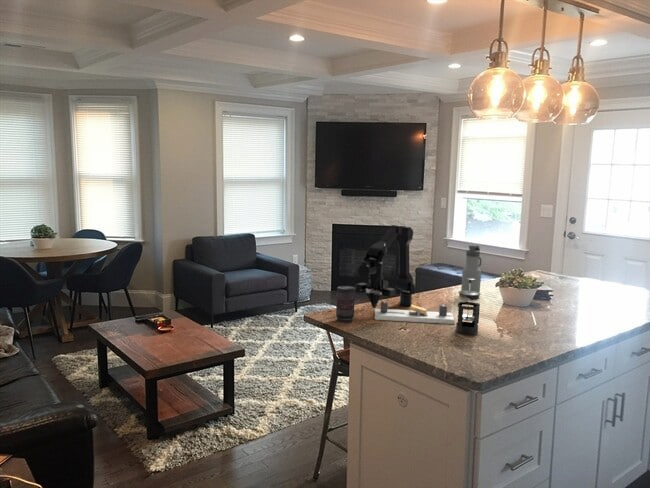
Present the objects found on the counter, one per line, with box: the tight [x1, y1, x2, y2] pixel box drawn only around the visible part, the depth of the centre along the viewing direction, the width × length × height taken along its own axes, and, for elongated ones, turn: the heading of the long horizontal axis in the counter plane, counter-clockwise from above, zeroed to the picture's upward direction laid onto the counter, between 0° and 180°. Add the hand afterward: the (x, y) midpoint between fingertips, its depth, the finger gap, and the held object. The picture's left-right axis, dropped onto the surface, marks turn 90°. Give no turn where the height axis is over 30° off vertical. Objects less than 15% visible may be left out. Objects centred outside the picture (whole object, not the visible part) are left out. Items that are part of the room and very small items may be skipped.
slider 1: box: [380, 301, 389, 312], centre depth 249 cm, size 3×3×4 cm
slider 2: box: [438, 304, 448, 316], centre depth 247 cm, size 3×3×4 cm
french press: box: [454, 278, 481, 336], centre depth 228 cm, size 12×9×23 cm
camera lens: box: [335, 285, 356, 324], centre depth 240 cm, size 8×8×15 cm
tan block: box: [409, 303, 427, 315], centre depth 248 cm, size 5×7×2 cm
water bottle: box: [460, 244, 482, 299], centre depth 295 cm, size 10×10×28 cm
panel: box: [374, 308, 455, 325], centre depth 248 cm, size 12×35×4 cm, turn 84°
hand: (374, 307), depth 250 cm, fingers closed
